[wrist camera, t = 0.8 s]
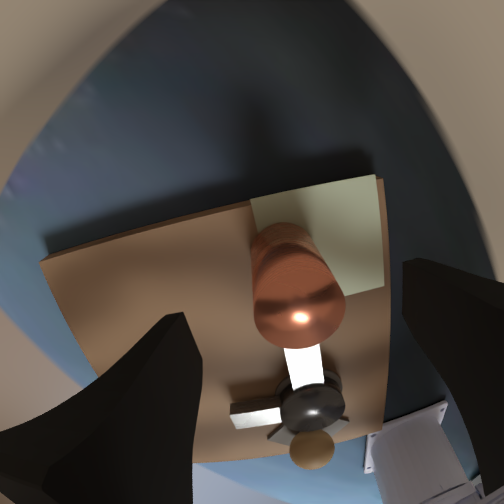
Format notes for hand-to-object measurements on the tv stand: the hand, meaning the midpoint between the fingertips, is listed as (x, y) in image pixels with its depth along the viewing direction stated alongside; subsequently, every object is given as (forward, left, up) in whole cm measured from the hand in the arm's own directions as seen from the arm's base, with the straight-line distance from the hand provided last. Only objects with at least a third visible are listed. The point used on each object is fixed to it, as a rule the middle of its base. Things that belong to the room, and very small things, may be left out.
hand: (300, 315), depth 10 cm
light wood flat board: (-8, +4, -7) cm, 11 cm away
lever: (-5, +1, -5) cm, 8 cm away
